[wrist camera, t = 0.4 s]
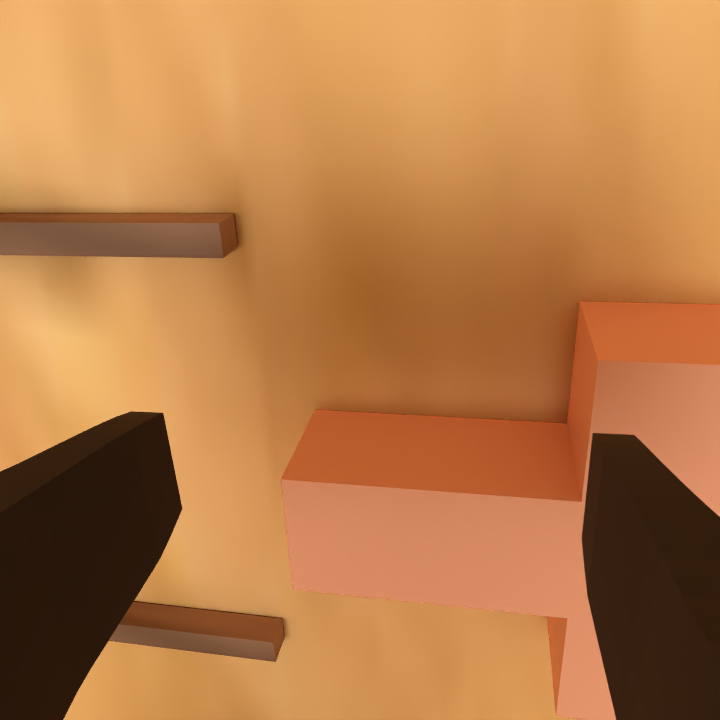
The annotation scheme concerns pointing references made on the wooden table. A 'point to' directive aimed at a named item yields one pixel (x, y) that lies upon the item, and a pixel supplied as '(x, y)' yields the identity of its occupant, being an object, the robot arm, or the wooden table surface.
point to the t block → (507, 486)
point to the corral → (152, 239)
